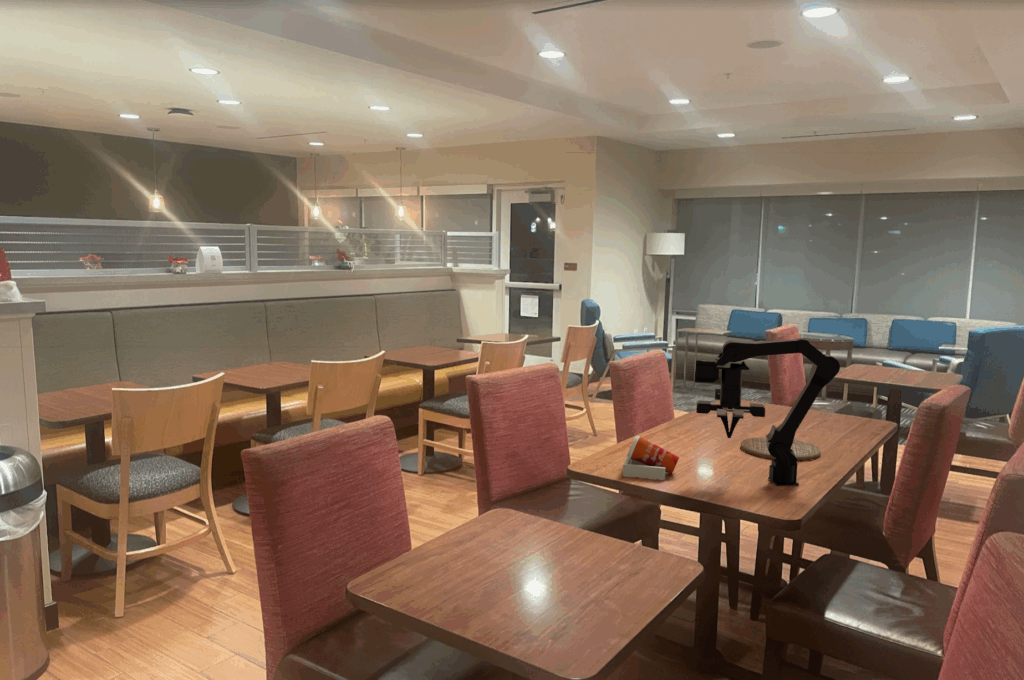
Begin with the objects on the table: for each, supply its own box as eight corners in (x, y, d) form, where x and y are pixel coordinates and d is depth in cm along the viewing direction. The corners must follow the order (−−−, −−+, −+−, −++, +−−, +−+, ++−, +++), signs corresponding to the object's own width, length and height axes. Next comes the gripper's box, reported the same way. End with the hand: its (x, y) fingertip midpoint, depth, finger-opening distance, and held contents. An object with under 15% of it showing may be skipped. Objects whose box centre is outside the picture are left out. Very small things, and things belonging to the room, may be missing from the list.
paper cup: (672, 474, 202) (626, 453, 206) (669, 480, 209) (625, 460, 213) (682, 450, 205) (637, 430, 208) (679, 457, 212) (635, 438, 215)
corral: (668, 467, 214) (668, 456, 214) (664, 480, 202) (665, 468, 201) (628, 464, 218) (629, 453, 217) (622, 476, 205) (623, 464, 205)
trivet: (741, 439, 251) (741, 434, 251) (817, 446, 243) (817, 440, 243) (739, 457, 228) (739, 451, 227) (823, 465, 219) (823, 459, 219)
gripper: (763, 381, 207) (761, 433, 208) (698, 378, 212) (696, 429, 213) (766, 388, 196) (764, 442, 198) (697, 384, 201) (695, 438, 203)
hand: (729, 437), depth 203 cm, fingers closed
